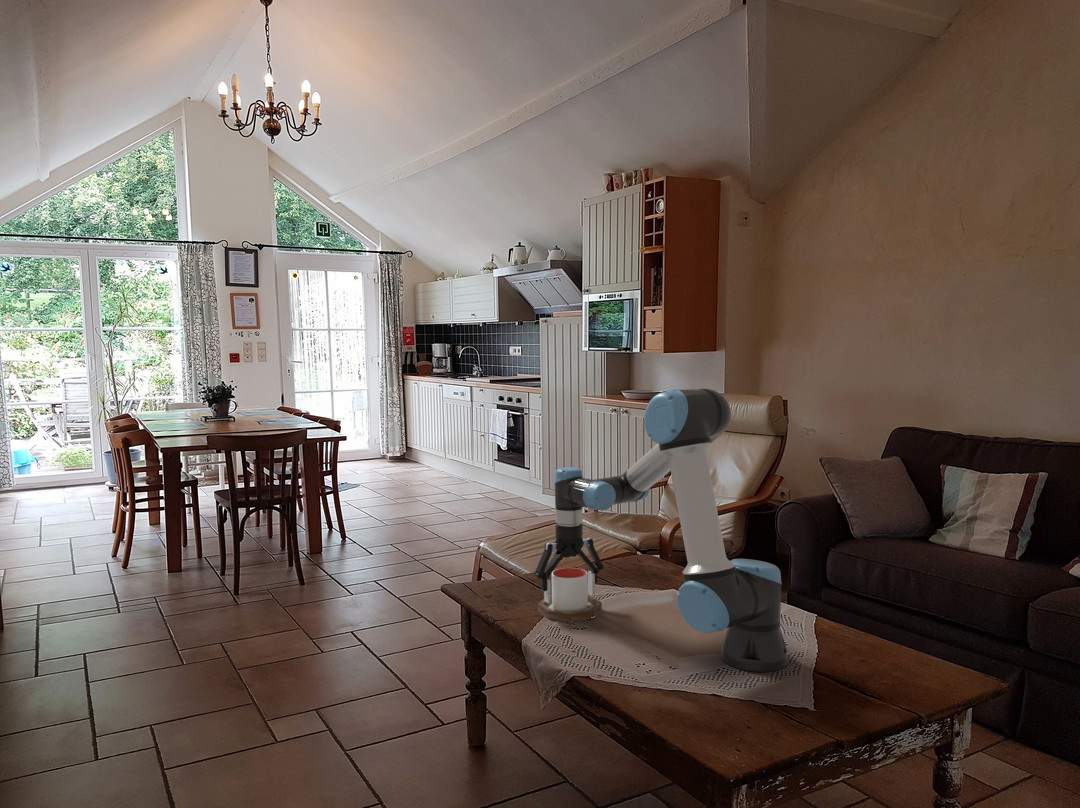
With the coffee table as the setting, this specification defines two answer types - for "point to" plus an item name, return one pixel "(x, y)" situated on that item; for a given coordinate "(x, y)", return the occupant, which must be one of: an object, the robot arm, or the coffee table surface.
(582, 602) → the cup
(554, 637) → the coffee table surface
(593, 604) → the tray
